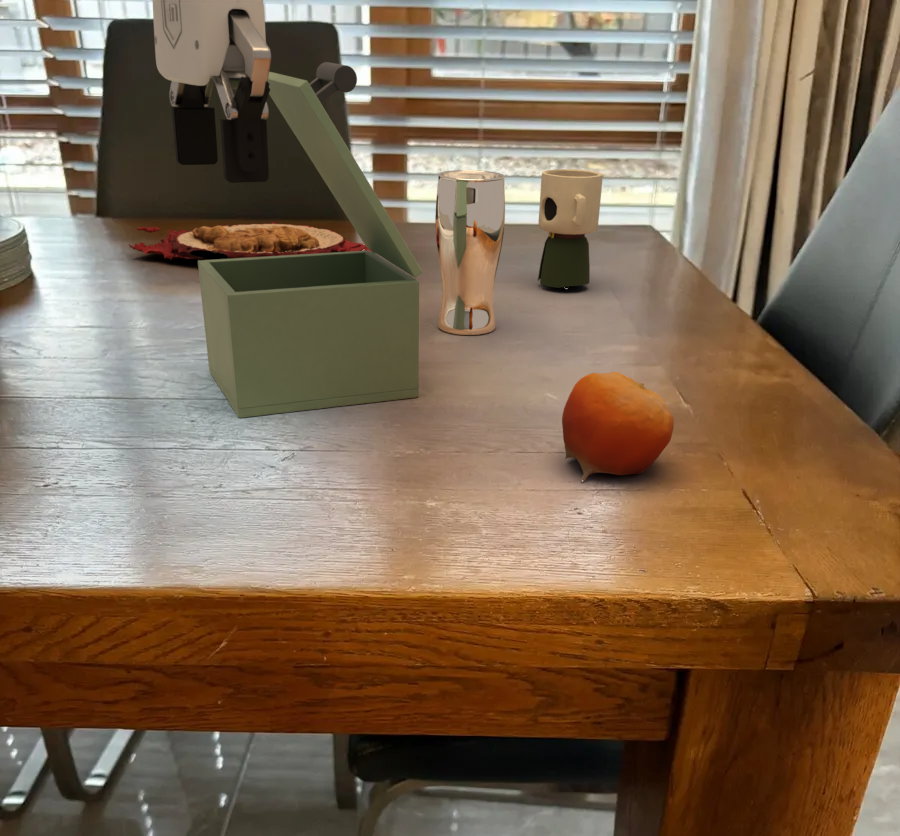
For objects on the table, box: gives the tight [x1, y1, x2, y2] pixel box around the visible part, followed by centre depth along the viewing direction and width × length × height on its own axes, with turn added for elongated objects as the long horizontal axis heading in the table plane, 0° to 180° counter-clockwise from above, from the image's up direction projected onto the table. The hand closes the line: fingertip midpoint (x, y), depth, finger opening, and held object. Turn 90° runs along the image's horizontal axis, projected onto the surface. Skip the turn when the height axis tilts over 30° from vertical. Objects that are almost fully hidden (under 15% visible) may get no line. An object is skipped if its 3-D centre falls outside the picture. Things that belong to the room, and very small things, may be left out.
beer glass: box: [434, 169, 506, 336], centre depth 100 cm, size 7×7×15 cm
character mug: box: [537, 168, 604, 289], centre depth 117 cm, size 11×7×13 cm, turn 8°
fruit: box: [561, 371, 675, 481], centre depth 71 cm, size 8×8×8 cm
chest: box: [197, 250, 420, 419], centre depth 84 cm, size 16×13×10 cm
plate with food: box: [128, 221, 373, 262], centre depth 131 cm, size 24×26×4 cm
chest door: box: [268, 61, 424, 279], centre depth 79 cm, size 16×13×5 cm
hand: (220, 172), depth 73 cm, fingers open, 9 cm apart
